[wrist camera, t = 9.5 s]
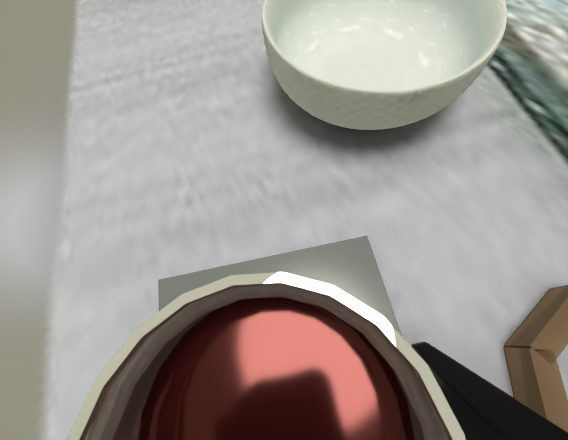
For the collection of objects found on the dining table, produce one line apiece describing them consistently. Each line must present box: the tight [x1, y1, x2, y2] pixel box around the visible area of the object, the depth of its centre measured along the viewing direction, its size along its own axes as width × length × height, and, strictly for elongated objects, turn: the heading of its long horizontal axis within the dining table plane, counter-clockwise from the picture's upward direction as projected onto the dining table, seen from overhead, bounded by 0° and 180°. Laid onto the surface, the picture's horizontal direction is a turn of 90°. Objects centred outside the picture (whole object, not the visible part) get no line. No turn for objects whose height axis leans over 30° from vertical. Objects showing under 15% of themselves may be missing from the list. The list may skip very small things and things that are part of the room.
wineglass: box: [67, 272, 466, 440], centre depth 10 cm, size 7×7×12 cm
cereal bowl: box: [262, 0, 507, 130], centre depth 22 cm, size 17×17×7 cm
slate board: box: [158, 236, 402, 336], centre depth 16 cm, size 14×14×1 cm
